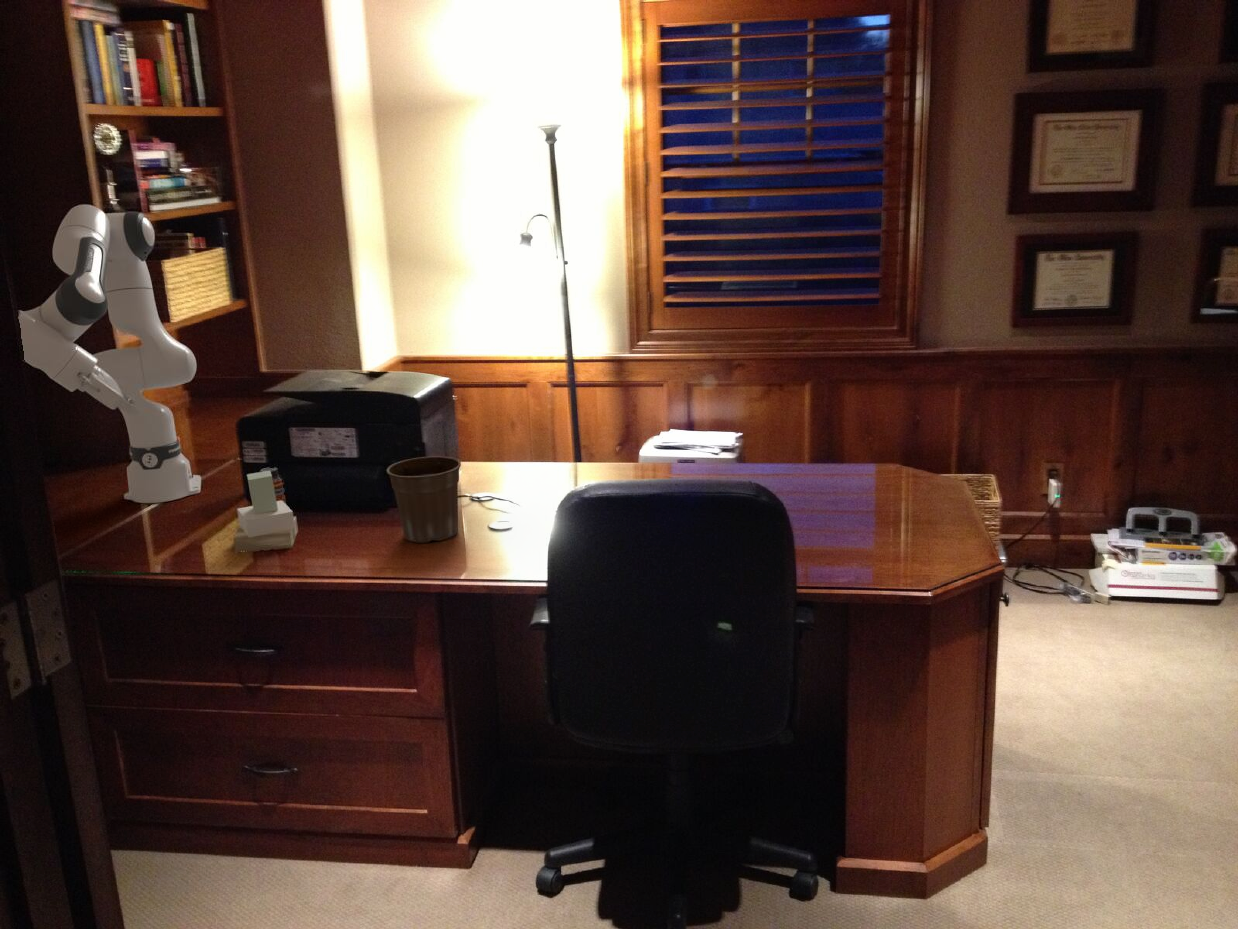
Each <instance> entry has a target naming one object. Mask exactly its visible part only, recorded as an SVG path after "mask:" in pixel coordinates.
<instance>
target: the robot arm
mask: <svg viewBox="0 0 1238 929" xmlns="http://www.w3.org/2000/svg"><path fill="white" fill-rule="evenodd" d="M155 240H156V236H155V229H154V226H153V224H152V222H151V220H150V219H149V217H148V216H146V214H144V213H143V212H139V211H126V212H112V213H110V212H108V213H105V212H104V211H103V210H102V209H100V208H98V207H97V206H94V205H92V204H79V205H76V206H73V207H72V208H71V209H69V211H68V212H67V214H66V215H65V216H64V218H63V219H62V220H61V223H60V225H59V227H58V230H57V232H56V235H55V237H54V242H53V245H52V258H53V262H54V263H55V265H56V267H58V269H59V270H61V271H62V272H64V273H65V274H67V275H68V276H67V277H66V278H65V279H64V280H63V281H62V283H60V285H59V286H58V288H57V289H56V290H55V291H54V292H53V293H52V294H51V295H50V296H49V297H48V298H47V299H46V300H45V302H43V303H42V304H41V305H40V306H37V307H35V308H32V309H29V310H25V311H23V310H20V309H19V310H17V311H18V319H19V323H20V328H21V339H22V345H23V351H24V360H25V361H24V360H23V361H24V362H25V363H27V364H29V365H30V366H32V367H33V368H36V369H39V370H41V371H42V372H44V373H45V374H46V375H47V376H48V377H49V379H51V380H53V381H54V382H55V383H57V384H59V385H60V386H62V387H63V388H65V390H68V391H69V392H73V393H74V391H76V390H79V391H81V392H82V393H83V392H84V393H85V392H86V393H87V394H88V395H90V396H91V397H93V398H94V399H95V400H97V401H98V402H99V403H101V404H103V405H104V406H105V407H107V408H109V409H111V410H116V409H117V408H118V409H119V411H120V412H121V413H122V416H123V419H124V421H125V425H126V428H127V429H126V430H127V433H128V438H129V444H130V445H129V450H128V451H129V452H128V453H129V455H130V456H129V457H130V460H132V461H131V463H130V464H129V465H128V466H126V473H127V476H126V477H127V483H128V492H126V493H124V495H123V497H124V498H123V499H125V500H128V501H129V500H131V501H133V502H135V503H139V504H140V503H141V504H156V503H164V502H170V501H174V500H178V499H182V498H185V497H187V496H192V495H196V494H199V493H201V487H202V477H201V475H198V474H193V473H192V470H191V465H190V464H191V463H190V461H189V460H188V459H187V458H186V456H185V455H183V453H182V448H181V447H182V446H181V438H180V437H179V436H177V432H176V426H175V420H174V415H173V411H172V410H171V409H170V408H169V407H168V406H166V405H164V404H162V403H160V402H156V401H152V400H150V399H147V398H146V397H145V396H144V395H143V392H144V391H147V390H149V391H150V390H157V389H165V388H166V389H167V388H173V387H176V386H180V385H183V384H186V383H190V382H191V381H192V380H193V379H194V377H195V375H196V372H197V360H196V357H195V355H194V353H193V351H192V350H191V349H190V348H189V347H188V346H186V345H185V344H183V343H181V342H179V341H178V340H176V339H175V338H174V337H173V336H171V335H170V333H169V332H168V331H167V329H166V328H165V327H164V326H163V323H162V321H161V319H160V317H159V314H158V309H157V306H156V305H157V304H156V300H155V294H154V290H153V285H152V284H153V283H152V279H151V275H150V271H149V269H148V264H147V262H146V260H147V258H148V256H149V255H150V253H151V252H152V251H153V249H154V247H155V242H156V241H155ZM106 313H108V319H109V322H110V324H111V325H112V327H113V328H114V329H116V330H118V331H121V332H123V333H125V334H128V335H132V336H134V337H136V338H137V339H139V340H140V342H141V345H139V346H133V347H132V346H131V347H125V348H114V349H108V350H104V351H101V352H97V353H94V354H91V353H90V352H88V351H87V350H85V349H84V348H82V346H79V345H78V344H77V343H74V342H75V341H77V340H78V339H79V337H81V336H82V335H83V334H84V333H85V332H86V331H87V330H88V329H89V328H90V327H91V326H92V325H93V324H94V323H96V322H97V321H99V320H100V319H101V318H102V317H103V316H104V315H105V314H106Z"/></svg>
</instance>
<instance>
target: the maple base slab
mask: <svg viewBox="0 0 1238 929" xmlns="http://www.w3.org/2000/svg"><path fill="white" fill-rule="evenodd" d="M293 518H294V525H295V529H290V530H285V531H280V532H275V533H270V534H265V535H260V536H255V537H250V538H249V537H248V536H247V534H246V533H245V532H244V531H243V529H242V528H241V527H240V525H238V526H239V527H238V528H237V531H236V532H235V535H234V537H233V545H234V553H235V554H237V553H236V552H241V551H242V552H241V553H244V552H243V551H252V552H261V551H260V550H263V551H271V549H274V550H284V548H285V549H292V548H293V546H294V543H295V540H296V537H297V534H298V531H299V528H298V527H299V526H298V519H297V516H294V515H293Z"/></svg>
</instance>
